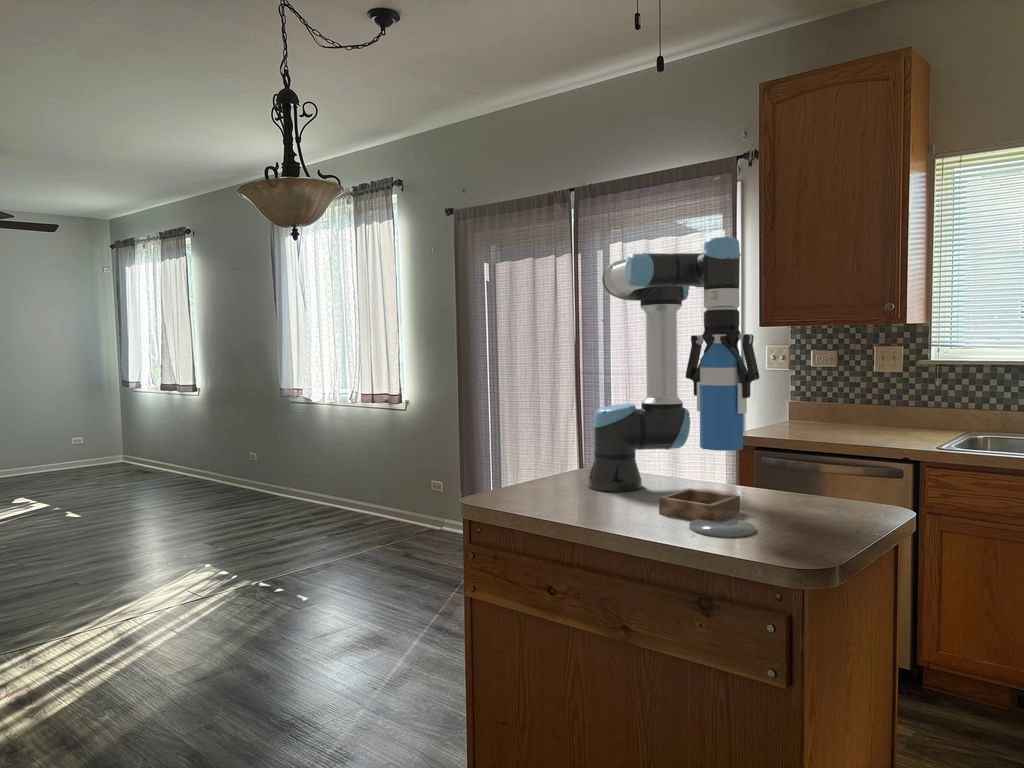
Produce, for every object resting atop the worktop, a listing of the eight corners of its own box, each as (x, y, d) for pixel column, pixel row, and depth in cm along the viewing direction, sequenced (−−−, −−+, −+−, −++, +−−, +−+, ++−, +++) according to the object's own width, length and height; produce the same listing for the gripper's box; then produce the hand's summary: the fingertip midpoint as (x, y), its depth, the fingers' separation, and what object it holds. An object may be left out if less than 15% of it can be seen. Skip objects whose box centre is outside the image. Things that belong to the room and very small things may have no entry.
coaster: (677, 529, 162) (677, 526, 162) (708, 518, 172) (708, 514, 172) (736, 541, 152) (736, 537, 152) (766, 528, 162) (766, 524, 162)
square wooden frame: (659, 513, 176) (659, 497, 176) (688, 504, 187) (688, 488, 186) (711, 523, 167) (711, 506, 167) (739, 512, 177) (739, 496, 177)
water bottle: (694, 449, 160) (694, 334, 158) (704, 444, 168) (704, 335, 167) (738, 451, 155) (739, 333, 154) (746, 446, 163) (747, 334, 162)
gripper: (668, 311, 165) (669, 410, 166) (761, 306, 150) (761, 415, 151) (686, 311, 170) (686, 408, 171) (777, 307, 155) (776, 413, 156)
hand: (721, 411), depth 161 cm, fingers closed on water bottle, 9 cm apart
